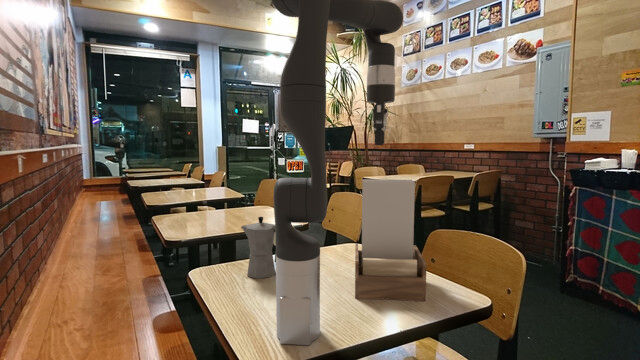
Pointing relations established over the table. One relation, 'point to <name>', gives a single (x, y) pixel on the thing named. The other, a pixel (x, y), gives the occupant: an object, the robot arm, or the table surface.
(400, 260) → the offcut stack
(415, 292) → the rack
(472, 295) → the table surface
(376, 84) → the robot arm
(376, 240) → the brochure
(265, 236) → the coffeepot
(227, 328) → the table surface
